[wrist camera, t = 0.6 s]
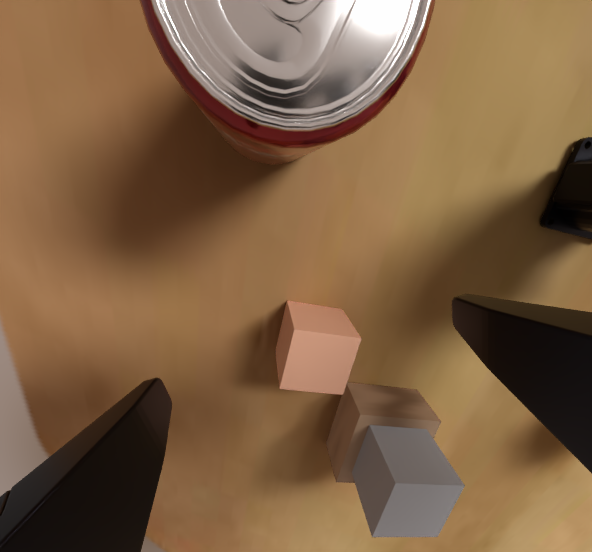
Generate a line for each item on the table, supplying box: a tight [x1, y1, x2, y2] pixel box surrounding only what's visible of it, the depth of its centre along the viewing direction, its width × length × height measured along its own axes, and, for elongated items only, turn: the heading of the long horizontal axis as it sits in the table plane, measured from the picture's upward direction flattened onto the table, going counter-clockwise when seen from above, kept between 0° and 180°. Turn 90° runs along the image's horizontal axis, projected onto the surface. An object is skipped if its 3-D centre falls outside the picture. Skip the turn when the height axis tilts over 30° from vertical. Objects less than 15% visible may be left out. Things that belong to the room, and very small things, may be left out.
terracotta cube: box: [275, 300, 362, 395], centre depth 21 cm, size 4×4×4 cm
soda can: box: [140, 0, 435, 164], centre depth 12 cm, size 7×7×12 cm
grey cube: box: [352, 425, 465, 537], centre depth 21 cm, size 5×5×4 cm
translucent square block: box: [326, 382, 441, 483], centre depth 25 cm, size 7×7×4 cm
